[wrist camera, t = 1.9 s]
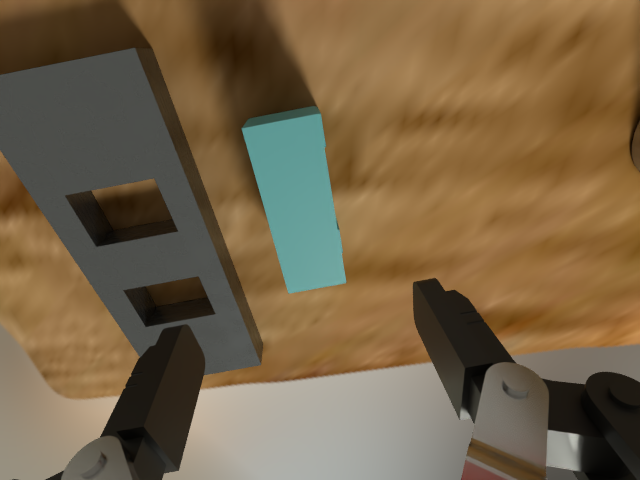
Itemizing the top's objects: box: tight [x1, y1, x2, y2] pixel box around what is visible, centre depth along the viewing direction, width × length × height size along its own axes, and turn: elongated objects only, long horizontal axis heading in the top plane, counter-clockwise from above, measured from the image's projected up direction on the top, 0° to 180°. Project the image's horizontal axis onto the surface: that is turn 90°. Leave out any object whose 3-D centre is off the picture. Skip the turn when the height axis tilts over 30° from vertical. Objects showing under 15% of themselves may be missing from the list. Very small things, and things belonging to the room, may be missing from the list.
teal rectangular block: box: [242, 106, 346, 293], centre depth 22 cm, size 4×11×6 cm, turn 10°
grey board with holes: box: [0, 48, 263, 375], centre depth 25 cm, size 10×26×2 cm, turn 10°
